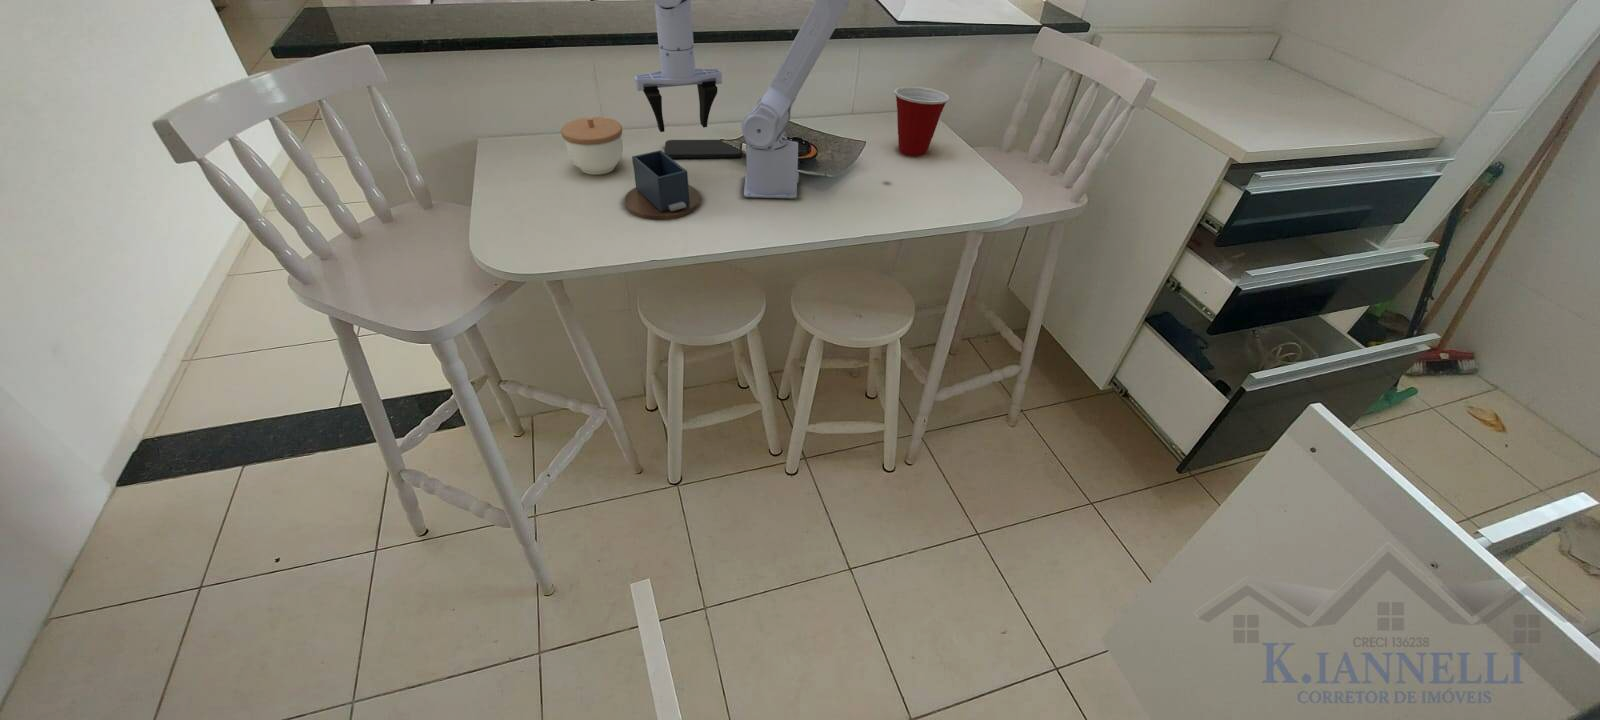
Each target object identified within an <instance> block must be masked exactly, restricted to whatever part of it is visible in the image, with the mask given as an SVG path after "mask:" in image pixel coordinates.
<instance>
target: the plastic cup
mask: <svg viewBox="0 0 1600 720" xmlns="http://www.w3.org/2000/svg"><path fill="white" fill-rule="evenodd" d="M894 94H895V99H896V100H895V101H896V113H897V117H896V118H897V120H896V121H897V136H898V138H897V140H898V141H897V143H898V151H899V153H901V154H902V155H904V156H906V157H913V158H919V157H923V156H926V154H927V153H928V151H929V149H930V145H931V143H932V139H933V138H934V135H935V132H936V129H937V125H938V123H939V120H940V117H941V115H942V113H943V110H944V108H945V106H946V104H947V102H949V100H950V96H949V95H948V94H947V93H945V92H943V91H941V90H937V89H934V88H929V87H923V86H900V87H897V88H895V89H894Z"/></svg>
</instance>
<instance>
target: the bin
mask: <svg viewBox="0 0 1600 720" xmlns="http://www.w3.org/2000/svg"><path fill="white" fill-rule="evenodd" d="M631 160H632V167H633V175H634V182H635V188H636V189H637V190H638V191H639V192H640V193H641V194H642V195H644V196H645V197H646V198H647V199H648V200H649V201H650V202H651V203H652V204H653V205H654V206H655V207H657V208H658V209H659V210H660V211H661V212H663V211H666V210H671V211H674V210H678V209H682V208H685V207H686V205H689V204H690V202H689V201H690V200H689V187H688V185H689V175H688V170H687V169H685V168H684V167H683V166H681V165H680V164H679V163H677V161H675V160H674V159H673V158H670V157H669V156H667V155H666V154H665V151H663V150H660V149H659V150H655V151H650V152H646V153H642V154H637V155H633V156H631Z"/></svg>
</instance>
